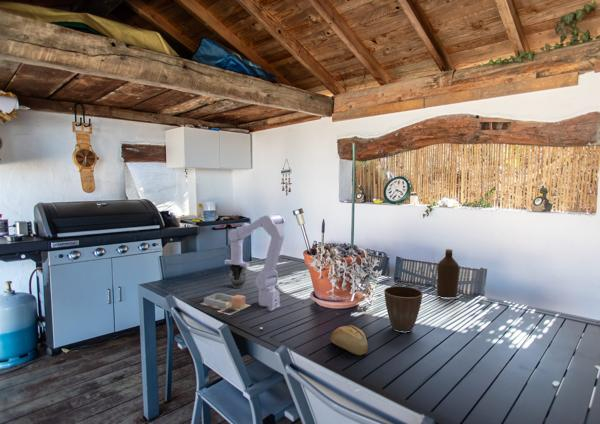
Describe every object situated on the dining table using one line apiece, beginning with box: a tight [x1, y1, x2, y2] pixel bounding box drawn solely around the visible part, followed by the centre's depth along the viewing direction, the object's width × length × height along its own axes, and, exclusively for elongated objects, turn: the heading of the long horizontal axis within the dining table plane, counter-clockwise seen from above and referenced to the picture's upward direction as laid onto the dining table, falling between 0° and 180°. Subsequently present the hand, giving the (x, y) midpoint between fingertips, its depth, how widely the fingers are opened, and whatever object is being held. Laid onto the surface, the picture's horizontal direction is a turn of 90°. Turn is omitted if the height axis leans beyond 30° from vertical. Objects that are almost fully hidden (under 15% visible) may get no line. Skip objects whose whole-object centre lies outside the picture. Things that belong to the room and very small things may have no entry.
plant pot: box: [383, 285, 424, 332], centre depth 150 cm, size 15×15×16 cm
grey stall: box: [203, 292, 235, 308], centre depth 176 cm, size 13×10×2 cm
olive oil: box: [436, 248, 460, 298], centre depth 193 cm, size 11×11×25 cm
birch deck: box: [199, 299, 252, 316], centre depth 173 cm, size 22×14×2 cm
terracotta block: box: [232, 294, 246, 309], centre depth 171 cm, size 4×4×4 cm
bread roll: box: [330, 324, 369, 356], centre depth 134 cm, size 10×15×8 cm, turn 46°
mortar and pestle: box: [228, 267, 248, 289], centre depth 207 cm, size 11×9×12 cm
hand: (236, 279), depth 187 cm, fingers closed
